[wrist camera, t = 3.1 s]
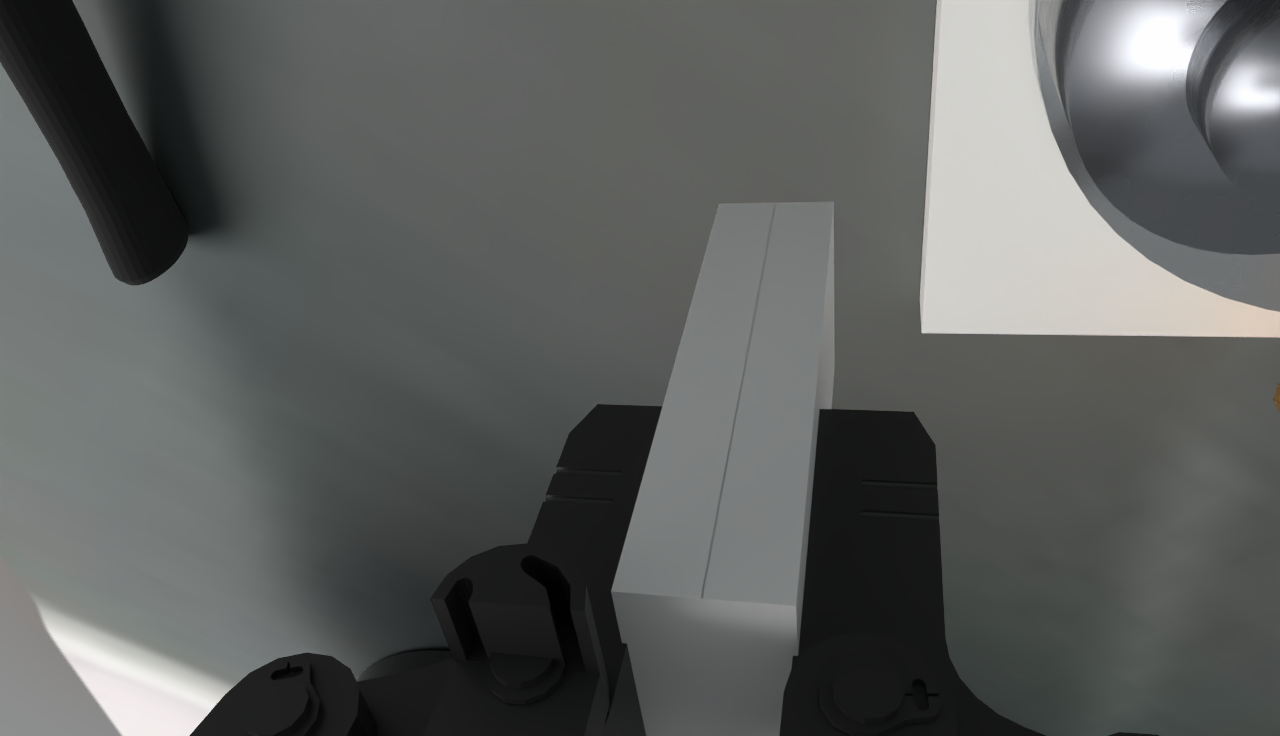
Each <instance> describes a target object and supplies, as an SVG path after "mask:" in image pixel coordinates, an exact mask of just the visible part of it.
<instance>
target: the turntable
mask: <svg viewBox="0 0 1280 736" xmlns="http://www.w3.org/2000/svg"><path fill="white" fill-rule="evenodd" d="M1038 3H1039V0H1029V15H1028V20H1029V30H1030V40H1031V50H1032V61H1033V66H1034V70H1035V74H1036V78H1037V82H1038V86H1039V90H1040V94H1041V98H1042V102H1043V105H1044V109H1045V112H1046V115H1047V118H1048V121H1049V124H1050V128H1051V131H1052V133H1053V136H1054V138H1055V140H1056V143H1057V145H1058V147H1059V150H1060V152H1061V154H1062V157H1063V159H1064V161H1065V163H1066V166H1067V168H1068V170H1069V172H1070V174H1071V175H1072V177H1073V178H1074V180H1075V181H1076V183H1077V184H1078V186H1079V188H1080V189H1081V191H1082V192H1083V194H1084V195H1085V197H1086V198H1087V200H1088V201H1089V203H1090V205H1091V206H1092V207H1093V208H1094V209H1095V210H1096V211H1097V212H1098V213H1099V215H1100V216H1101V217H1102V218H1103V219H1104V220H1105V221H1106V222H1107V223H1108V225H1109V226H1110V227H1111V228H1112V229H1113V230H1114V231H1115V232H1116V233H1117V235H1119V236H1120V237H1121V238H1122V239H1124V240H1125V241H1126V242H1127V243H1129V244H1130V245H1131V246H1132V247H1134V248H1135V249H1136V250H1137V251H1138V252H1140V253H1141V254H1142V255H1143V256H1145V257H1146V258H1147V259H1148V260H1150V261H1152V262H1153V263H1155V264H1157V265H1158V266H1160V267H1162V268H1163V269H1165V270H1167V271H1168V272H1170V273H1172V274H1174V275H1175V276H1177V277H1179V278H1180V279H1182V280H1184V281H1186V282H1188V283H1190V284H1193V285H1195V286H1198V287H1200V288H1202V289H1205V290H1207V291H1210V292H1212V293H1214V294H1217V295H1219V296H1221V297H1224V298H1227V299H1231V300H1234V301H1238V302H1241V303H1245V304H1249V305H1252V306H1256V307H1259V308H1263V309H1266V310H1272V311H1278V312H1280V254H1263V255H1243V254H1225V253H1219V252H1212V251H1206V250H1200V249H1196V248H1192V247H1189V246H1185V245H1182V244H1178V243H1175V242H1172V241H1170V240H1168V239H1165V238H1163V237H1160V236H1158V235H1156V234H1153V233H1151V232H1150V231H1148V230H1146V229H1145V228H1143V227H1141V226H1140V225H1138V224H1136V223H1135V222H1133V221H1131V220H1130V219H1129V218H1128V217H1126V216H1125V215H1124V214H1123V213H1122V212H1120V211H1119V210H1118V209H1117V208H1115V207H1114V206H1113V205H1112V204H1111V203H1110V201H1109V200H1108V199H1107V198H1106V197H1105V196H1104V195H1103V194H1102V192H1101V191H1100V190H1099V189H1098V188H1097V186H1096V184H1095V183H1094V181H1093V180H1092V178H1091V177H1090V175H1089V173H1088V172H1087V170H1086V168H1085V166H1084V164H1083V161H1082V159H1081V157H1080V154H1079V152H1078V149H1077V147H1076V144H1075V141H1074V138H1073V135H1072V133H1071V130H1070V127H1069V124H1068V121H1067V118H1066V115H1065V113H1064V110H1063V107H1062V104H1061V101H1060V98H1059V95H1058V92H1057V90H1056V87H1055V84H1054V81H1053V78H1052V75H1051V72H1050V70H1049V67H1048V64H1047V61H1046V58H1045V55H1044V51H1043V47H1042V42H1041V38H1040V31H1039V20H1038ZM1273 400H1274V402H1275V404H1276V406H1277V408H1278V410H1279V412H1280V380H1279V383H1278V386H1277V389H1276V392H1275V395H1274V398H1273Z"/></svg>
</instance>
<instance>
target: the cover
mask: <svg viewBox="0 0 1280 736" xmlns="http://www.w3.org/2000/svg"><path fill="white" fill-rule="evenodd" d="M1038 20H1039V31H1040V38H1041V42H1042V47H1043V51H1044V55H1045V58H1046V61H1047V64H1048V67H1049V70H1050V72H1051V75H1052V78H1053V81H1054V84H1055V87H1056V90H1057V92H1058V95H1059V98H1060V101H1061V104H1062V107H1063V110H1064V113H1065V115H1066V118H1067V121H1068V124H1069V127H1070V130H1071V133H1072V135H1073V138H1074V141H1075V144H1076V147H1077V149H1078V152H1079V154H1080V157H1081V159H1082V161H1083V164H1084V166H1085V168H1086V170H1087V172H1088V173H1089V175H1090V177H1091V178H1092V180H1093V181H1094V183H1095V184H1096V186H1097V188H1098V189H1099V190H1100V191H1101V192H1102V194H1103V195H1104V196H1105V197H1106V198H1107V199H1108V200H1109V201H1110V203H1111V204H1112V205H1113V206H1114V207H1115V208H1117V209H1118V210H1119V211H1120V212H1122V213H1123V214H1124V215H1125V216H1126V217H1128V218H1129V219H1130V220H1131V221H1133V222H1135V223H1136V224H1138V225H1140V226H1141V227H1143V228H1145V229H1146V230H1148V231H1150V232H1151V233H1153V234H1156V235H1158V236H1160V237H1163V238H1165V239H1168V240H1170V241H1172V242H1175V243H1178V244H1182V245H1185V246H1189V247H1192V248H1196V249H1200V250H1206V251H1212V252H1219V253H1225V254H1243V255H1263V254H1280V0H1039V3H1038Z"/></svg>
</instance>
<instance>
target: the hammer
mask: <svg viewBox="0 0 1280 736" xmlns="http://www.w3.org/2000/svg"><path fill="white" fill-rule="evenodd" d="M0 62H1V64H2V66H3V67H4V69H5V71H6V72H7V74H8V76H9V77H10V79H11V81H12V82H13V84H14V86H15V87H16V89H17V91H18V92H19V94H20V95H21V97H22V99H23V100H24V102H25V104H26V106H27V107H28V109H29V111H30V112H31V114H32V116H33V118H34V119H35V121H36V123H37V124H38V126H39V128H40V130H41V131H42V133H43V135H44V136H45V138H46V140H47V141H48V143H49V145H50V147H51V148H52V150H53V152H54V153H55V155H56V157H57V159H58V160H59V162H60V164H61V166H62V168H63V170H64V172H65V174H66V176H67V178H68V180H69V182H70V184H71V185H72V187H73V189H74V191H75V193H76V195H77V197H78V198H79V200H80V202H81V204H82V206H83V208H84V210H85V211H86V214H87V216H88V218H89V221H90V223H91V225H92V227H93V230H94V232H95V234H96V237H97V239H98V241H99V243H100V246H101V248H102V250H103V253H104V255H105V257H106V260H107V262H108V264H109V266H110V268H111V270H112V272H113V274H114V276H115V278H117V279H118V280H119V281H122V282H124V283H126V284H129V285H141V284H145V283H147V282H149V281H152V280H153V279H155V278H157V277H158V276H160V275H161V274H163V273H164V272H165V271H167V270H168V269H169V268H170V267H171V266H172V265H173V264H174V263H175V262H176V261H177V260H178V258H179V257H180V255H181V254H182V252H183V251H184V249H185V247H186V244H187V241H188V226H187V223H186V221H185V219H184V217H183V215H182V214H181V212H180V210H179V208H178V207H177V205H176V203H175V201H174V200H173V198H172V196H171V194H170V192H169V190H168V188H167V186H166V184H165V182H164V180H163V178H162V176H161V174H160V172H159V170H158V168H157V166H156V165H155V163H154V161H153V159H152V157H151V155H150V153H149V151H148V150H147V148H146V146H145V144H144V142H143V140H142V138H141V137H140V135H139V133H138V131H137V130H136V128H135V126H134V124H133V122H132V121H131V119H130V117H129V115H128V113H127V111H126V109H125V107H124V105H123V103H122V101H121V99H120V97H119V95H118V93H117V91H116V89H115V87H114V85H113V83H112V81H111V79H110V77H109V75H108V73H107V71H106V69H105V67H104V65H103V63H102V61H101V59H100V57H99V54H98V52H97V50H96V48H95V46H94V44H93V42H92V40H91V38H90V36H89V33H88V31H87V29H86V27H85V25H84V23H83V21H82V19H81V17H80V15H79V13H78V11H77V9H76V7H75V5H74V3H73V1H72V0H0Z"/></svg>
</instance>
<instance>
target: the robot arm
mask: <svg viewBox="0 0 1280 736" xmlns="http://www.w3.org/2000/svg"><path fill="white" fill-rule="evenodd" d="M833 381H834V202H792V203H724V204H719V205H718V209H717V212H716V216H715V219H714V223H713V227H712V230H711V234H710V237H709V241H708V245H707V248H706V252H705V255H704V259H703V263H702V266H701V270H700V273H699V277H698V281H697V284H696V288H695V291H694V295H693V299H692V302H691V306H690V309H689V313H688V316H687V320H686V324H685V327H684V331H683V334H682V338H681V342H680V345H679V349H678V352H677V356H676V360H675V363H674V367H673V370H672V374H671V378H670V381H669V385H668V388H667V392H666V396H665V399H664V403H663V406H632V405H603V404H598V405H597V406H596V407H595V408H594V409H593V410H592V411H591V412H590V413H589V414H588V415H587V416H586V417H585V418H584V419H583V420H582V421H581V422H580V423H579V424H578V425H577V426H576V427H575V428H574V429H573V430H572V431H571V432H570V433H569V435H568V438H567V441H566V443H565V446H564V449H563V451H562V454H561V457H560V459H559V462H558V464H557V472H556V474H554V475H553V478H552V480H551V483H550V486H549V488H548V491H547V493H546V502H543V504H542V507H541V509H540V512H539V515H538V517H537V520H536V523H535V525H534V528H533V530H532V533H531V536H530V538H529V541H528V544H517V545H506V546H498V547H496V548H493V549H491V550H488V551H485V552H483V553H480V554H477V555H475V556H472V557H470V558H469V559H468V560H466V561H465V562H464V563H462V564H461V565H460V566H458V567H457V568H456V569H454V570H453V571H452V572H450V573H449V574H448V575H447V576H446V577H445V578H444V580H443V581H442V583H441V584H440V586H439V587H438V588H437V590H436V591H435V593H434V594H433V596H432V597H431V601H432V604H433V606H434V609H435V612H436V614H437V617H438V619H439V622H440V625H441V627H442V630H443V632H444V635H445V638H446V640H447V643H448V646H449V648H450V651H437V650H428V651H413V652H407V653H401V654H397V655H394V656H390V657H387V658H385V659H383V660H380V661H378V662H377V663H375V664H373V665H372V666H370V667H369V668H368V669H367V670H365V671H364V673H363V674H362V675H361V676H360V677H359V679H358V681H357V682H356V680H355V678H354V675H353V673H352V671H351V669H350V668H348V667H347V666H345V665H344V664H342V663H341V662H339V661H338V660H336V659H335V658H334V657H332V656H326V655H319V654H312V653H303V654H298V655H293V656H288V657H283V658H278V659H276V660H274V661H272V662H270V663H268V664H266V665H264V666H262V667H260V668H258V669H256V670H255V671H253V672H251V673H249V674H248V675H247V676H246V677H245V678H243V679H242V680H241V681H240V682H239V683H238V684H237V685H236V686H234V687H233V688H232V689H231V690H230V691H229V692H228V693H227V694H225V696H224V697H223V698H222V699H221V700H220V701H219V702H218V704H217V705H216V706H215V707H214V708H213V709H212V710H211V712H210V713H209V714H208V715H207V716H206V717H205V719H204V720H203V721H202V722H201V723H200V724H199V725H198V727H197V728H196V729H195V730H194V731H193V732H192V734H191V735H190V736H1045V735H1043V734H1040V733H1037V732H1035V731H1032V730H1030V729H1027V728H1025V727H1023V726H1021V725H1019V724H1017V723H1015V722H1013V721H1011V720H1009V719H1007V718H1005V717H1003V716H1001V715H999V714H997V713H996V712H995V711H993V710H992V709H991V708H989V707H988V706H987V705H985V704H984V703H983V702H982V701H980V700H979V699H978V698H976V697H975V695H974V694H973V693H972V692H971V691H970V689H969V688H968V687H967V686H966V685H965V684H964V682H963V681H962V680H961V679H960V678H959V676H958V674H957V672H956V670H955V668H954V666H953V664H952V662H951V660H950V658H949V654H948V649H947V644H946V639H945V624H944V605H943V585H942V566H941V546H940V527H939V507H938V490H937V468H936V449H935V444H934V442H933V441H932V439H931V438H930V436H929V435H928V433H927V432H926V430H925V429H924V427H923V426H922V424H921V423H920V421H919V420H918V418H917V417H916V415H915V413H914V412H900V411H870V410H839V409H832V395H833ZM1109 736H1159V735H1152V734H1137V733H1122V732H1119V733H1115V734H1112V735H1109Z"/></svg>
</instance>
